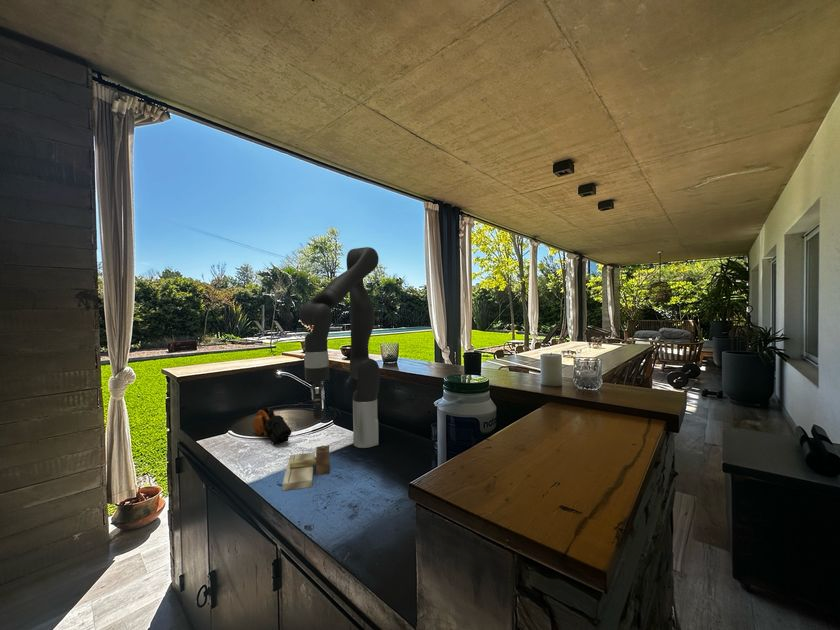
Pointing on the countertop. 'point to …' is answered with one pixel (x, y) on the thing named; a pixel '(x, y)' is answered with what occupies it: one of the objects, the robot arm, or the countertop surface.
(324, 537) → the countertop surface
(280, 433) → the tool
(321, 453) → the gauge
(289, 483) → the board
